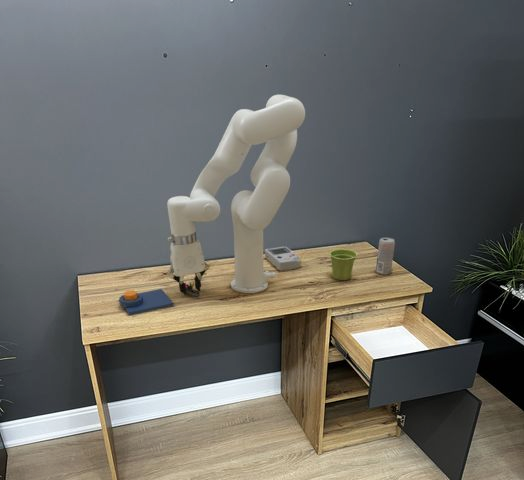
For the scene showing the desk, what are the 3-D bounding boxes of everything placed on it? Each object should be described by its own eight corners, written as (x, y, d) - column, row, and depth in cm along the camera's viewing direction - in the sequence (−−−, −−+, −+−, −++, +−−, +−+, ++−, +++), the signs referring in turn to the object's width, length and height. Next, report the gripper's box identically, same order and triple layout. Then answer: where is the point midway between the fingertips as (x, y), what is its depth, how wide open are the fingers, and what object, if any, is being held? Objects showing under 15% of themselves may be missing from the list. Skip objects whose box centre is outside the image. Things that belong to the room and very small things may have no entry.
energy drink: (386, 268, 187) (390, 236, 181) (393, 273, 183) (398, 241, 177) (372, 270, 186) (376, 238, 180) (380, 275, 182) (384, 243, 175)
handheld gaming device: (279, 272, 185) (280, 262, 183) (264, 258, 196) (264, 248, 195) (302, 268, 188) (302, 258, 186) (285, 255, 199) (286, 245, 197)
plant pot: (336, 284, 175) (338, 260, 171) (323, 274, 183) (324, 251, 178) (360, 279, 179) (362, 256, 174) (345, 270, 186) (347, 247, 181)
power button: (135, 295, 163) (134, 289, 162) (139, 299, 160) (138, 294, 159) (123, 297, 161) (122, 291, 160) (126, 302, 158) (125, 296, 157)
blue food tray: (161, 292, 171) (160, 283, 169) (173, 306, 162) (172, 297, 160) (116, 300, 165) (115, 292, 163) (126, 316, 156) (124, 307, 154)
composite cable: (201, 296, 165) (200, 289, 164) (187, 299, 164) (186, 292, 163) (193, 284, 173) (192, 278, 172) (179, 287, 172) (178, 280, 170)
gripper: (161, 247, 153) (170, 302, 163) (213, 236, 159) (219, 289, 169) (154, 239, 159) (162, 293, 168) (205, 229, 165) (210, 281, 175)
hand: (190, 291), depth 168 cm, fingers closed on composite cable, 4 cm apart
